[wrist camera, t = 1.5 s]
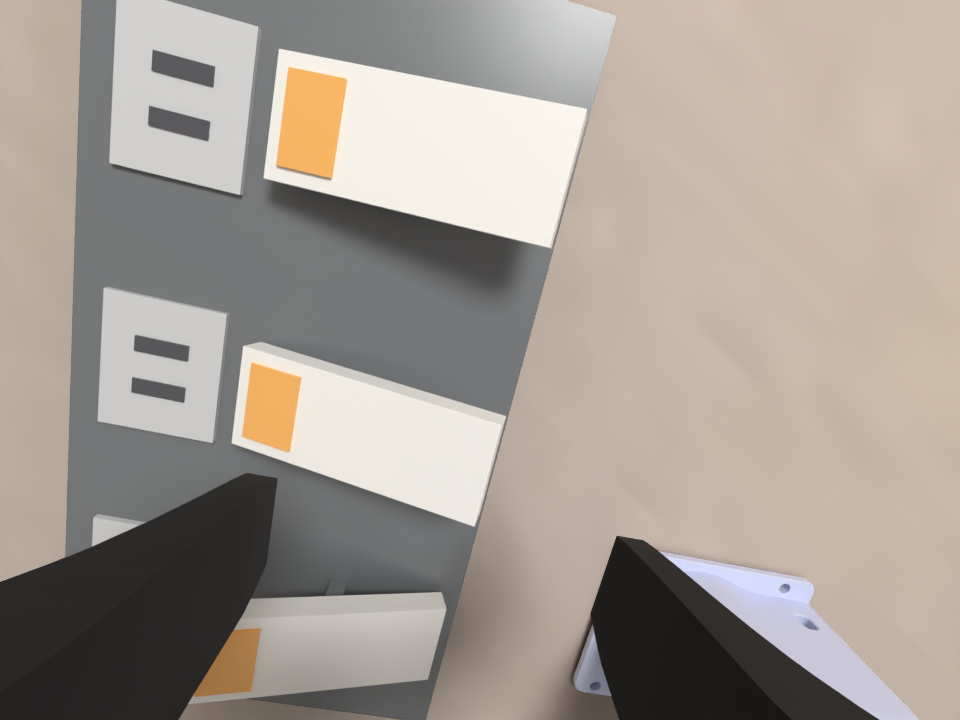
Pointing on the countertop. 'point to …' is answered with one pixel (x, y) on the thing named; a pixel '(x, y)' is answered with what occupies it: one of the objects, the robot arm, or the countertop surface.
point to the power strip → (287, 277)
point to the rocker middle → (366, 431)
